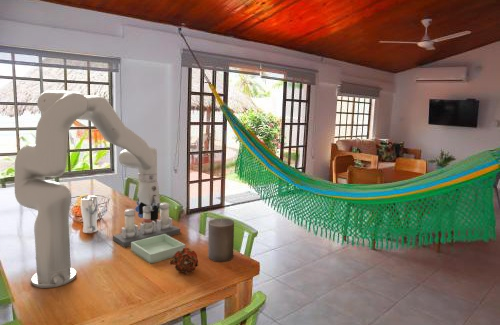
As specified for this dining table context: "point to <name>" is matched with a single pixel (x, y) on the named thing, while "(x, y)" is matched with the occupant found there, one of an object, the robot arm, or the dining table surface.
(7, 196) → the dining table surface
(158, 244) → the tray
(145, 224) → the cylinder
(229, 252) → the pillar candle
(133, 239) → the fuse holder
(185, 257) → the dark red rosette
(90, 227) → the beer glass
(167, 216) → the ball
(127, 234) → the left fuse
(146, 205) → the grapes
